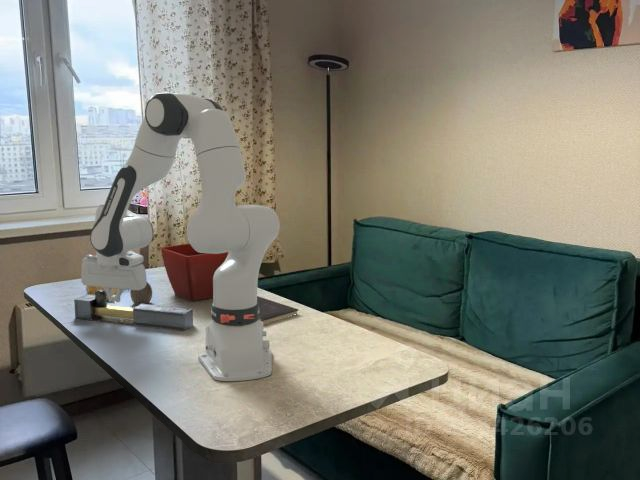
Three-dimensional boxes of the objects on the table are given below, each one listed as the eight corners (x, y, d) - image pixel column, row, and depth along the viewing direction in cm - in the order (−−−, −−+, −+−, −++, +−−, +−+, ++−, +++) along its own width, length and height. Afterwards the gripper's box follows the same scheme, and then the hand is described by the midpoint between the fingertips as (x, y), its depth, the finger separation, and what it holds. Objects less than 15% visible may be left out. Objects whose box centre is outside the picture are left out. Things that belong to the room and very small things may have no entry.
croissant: (121, 310, 196) (131, 288, 197) (94, 301, 190) (105, 279, 191) (99, 294, 212) (109, 274, 213) (74, 285, 206) (84, 265, 207)
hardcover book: (251, 300, 200) (251, 294, 200) (298, 316, 185) (298, 309, 185) (214, 310, 189) (214, 303, 189) (260, 327, 174) (260, 320, 173)
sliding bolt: (156, 318, 174) (155, 294, 173) (150, 321, 171) (149, 297, 170) (91, 311, 179) (90, 288, 178) (85, 314, 176) (84, 290, 175)
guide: (193, 324, 173) (193, 305, 172) (184, 331, 167) (184, 311, 166) (87, 312, 182) (86, 294, 180) (75, 318, 176) (74, 299, 175)
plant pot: (160, 293, 205) (159, 246, 201) (207, 284, 217) (207, 240, 214) (188, 306, 191) (187, 256, 188) (236, 296, 203) (236, 249, 200)
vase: (146, 307, 188) (145, 281, 187) (126, 305, 190) (125, 279, 188) (156, 301, 195) (155, 276, 193) (137, 299, 196) (136, 274, 195)
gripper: (75, 256, 172) (77, 301, 174) (137, 261, 167) (138, 307, 169) (88, 252, 178) (90, 295, 180) (148, 257, 173) (150, 301, 175)
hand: (114, 301), depth 175 cm, fingers closed
